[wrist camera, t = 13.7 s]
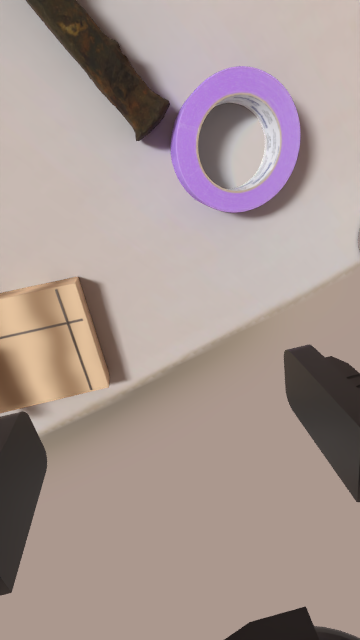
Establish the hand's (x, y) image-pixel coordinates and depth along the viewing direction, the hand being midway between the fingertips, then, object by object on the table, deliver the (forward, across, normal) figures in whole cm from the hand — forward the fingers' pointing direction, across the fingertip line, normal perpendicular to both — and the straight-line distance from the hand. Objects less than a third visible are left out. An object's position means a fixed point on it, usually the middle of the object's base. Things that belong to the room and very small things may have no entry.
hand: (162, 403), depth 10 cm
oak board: (+27, +17, +8) cm, 33 cm away
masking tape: (+28, -11, -7) cm, 31 cm away
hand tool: (+28, +2, -18) cm, 33 cm away
